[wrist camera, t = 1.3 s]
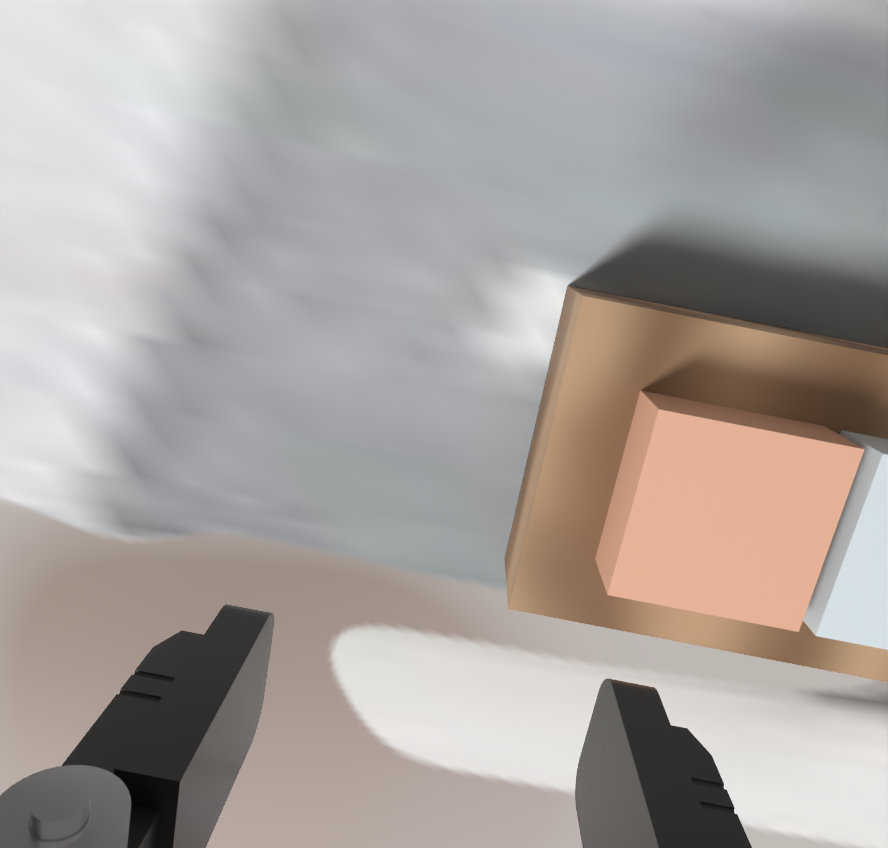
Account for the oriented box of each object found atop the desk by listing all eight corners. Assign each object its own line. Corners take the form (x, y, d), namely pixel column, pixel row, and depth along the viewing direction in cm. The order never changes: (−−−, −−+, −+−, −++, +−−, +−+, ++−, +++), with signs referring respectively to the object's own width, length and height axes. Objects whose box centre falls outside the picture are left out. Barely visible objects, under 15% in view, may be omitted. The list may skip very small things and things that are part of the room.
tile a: (595, 559, 25) (607, 595, 23) (640, 390, 23) (658, 409, 21) (767, 592, 25) (798, 631, 23) (824, 426, 23) (864, 449, 21)
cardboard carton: (504, 558, 29) (508, 608, 26) (567, 285, 27) (582, 295, 23) (943, 643, 30) (1013, 706, 26) (1054, 380, 27) (1151, 406, 23)
